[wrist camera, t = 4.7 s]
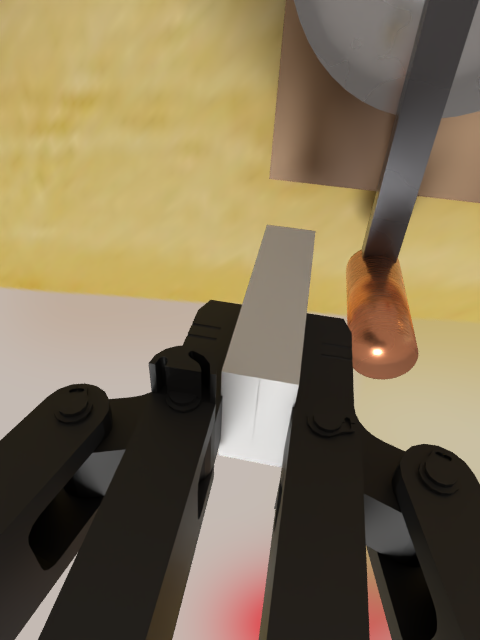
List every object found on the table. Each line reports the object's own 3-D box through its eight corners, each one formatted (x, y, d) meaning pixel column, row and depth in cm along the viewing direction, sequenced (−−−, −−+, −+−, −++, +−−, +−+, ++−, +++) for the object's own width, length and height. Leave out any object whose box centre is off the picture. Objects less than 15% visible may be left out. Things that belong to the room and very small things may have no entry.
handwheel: (260, 260, 19) (233, 355, 14) (318, -365, 9) (295, -738, 4) (475, 290, 18) (525, 403, 13) (789, -377, 8) (1409, -874, 3)
